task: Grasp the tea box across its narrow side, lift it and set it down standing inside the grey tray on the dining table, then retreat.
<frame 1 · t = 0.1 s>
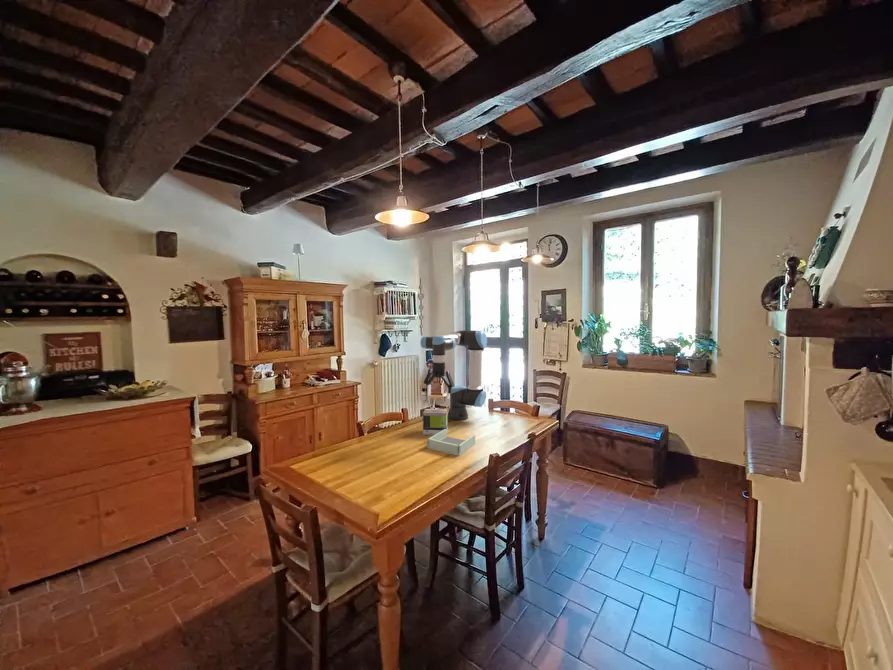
hand: (438, 397, 218), 28 cm above the table, fingers open, 13 cm apart
tea box: (435, 433, 237), on the table
grey tray: (451, 446, 215), on the table
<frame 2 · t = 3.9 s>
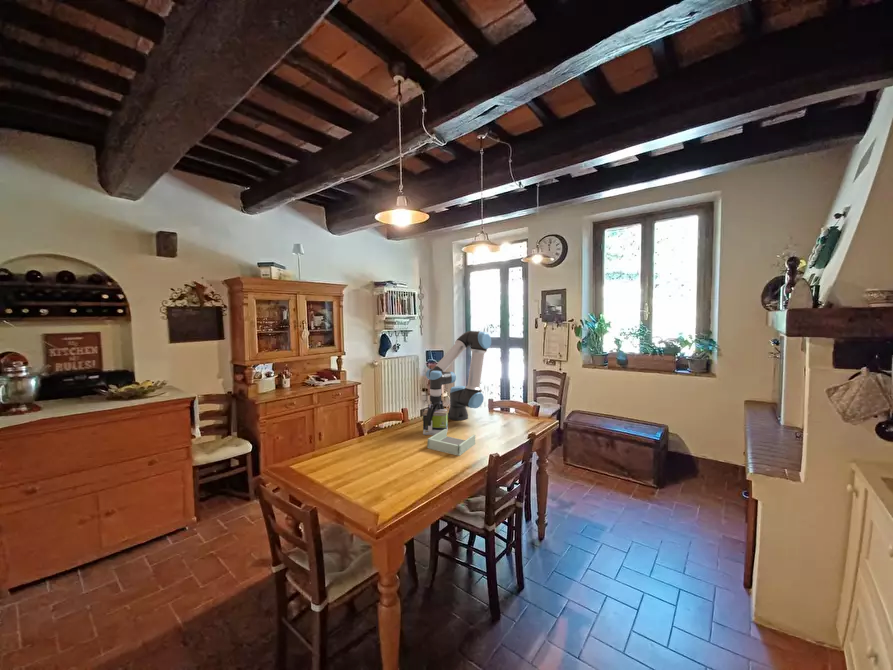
hand: (435, 427, 236), 3 cm above the table, fingers closed on tea box, 12 cm apart
tea box: (435, 433, 237), on the table, touching gripper
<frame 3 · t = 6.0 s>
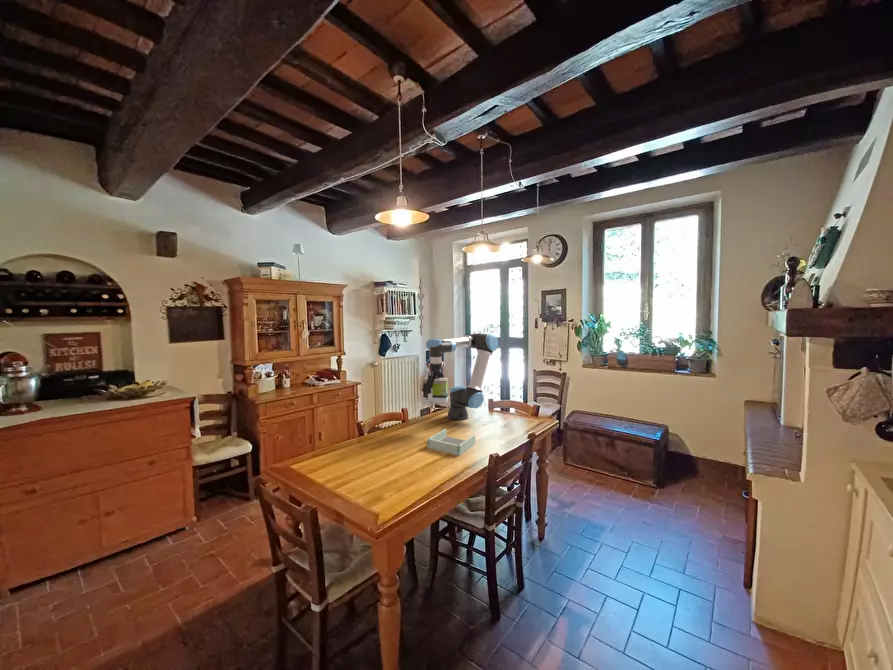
hand: (435, 396, 235), 24 cm above the table, fingers closed on tea box, 12 cm apart
tea box: (435, 401, 235), point 21 cm above the table, touching gripper
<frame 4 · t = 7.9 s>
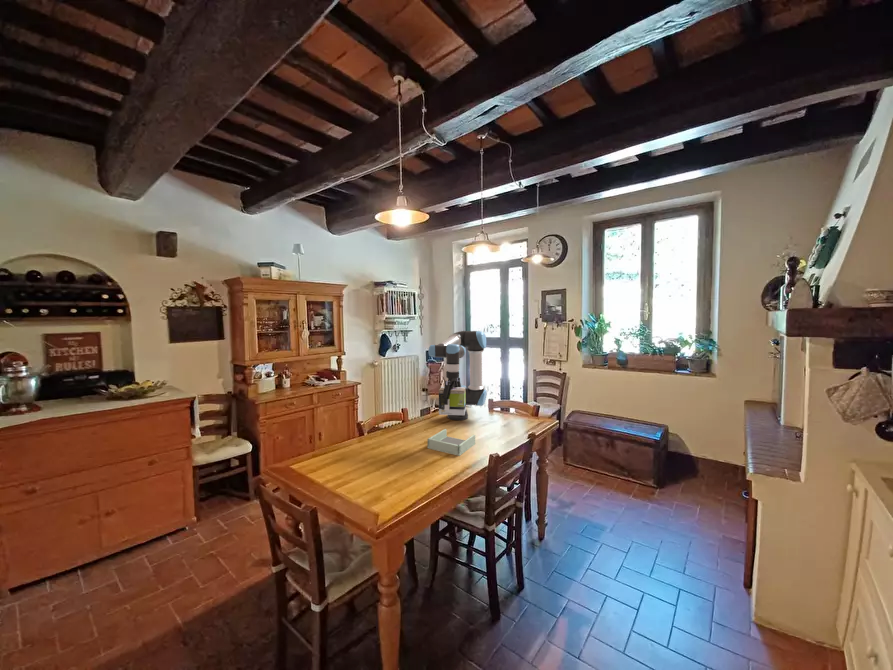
hand: (452, 407, 213), 23 cm above the table, fingers closed on tea box, 12 cm apart
tea box: (452, 413, 213), point 20 cm above the table, touching gripper
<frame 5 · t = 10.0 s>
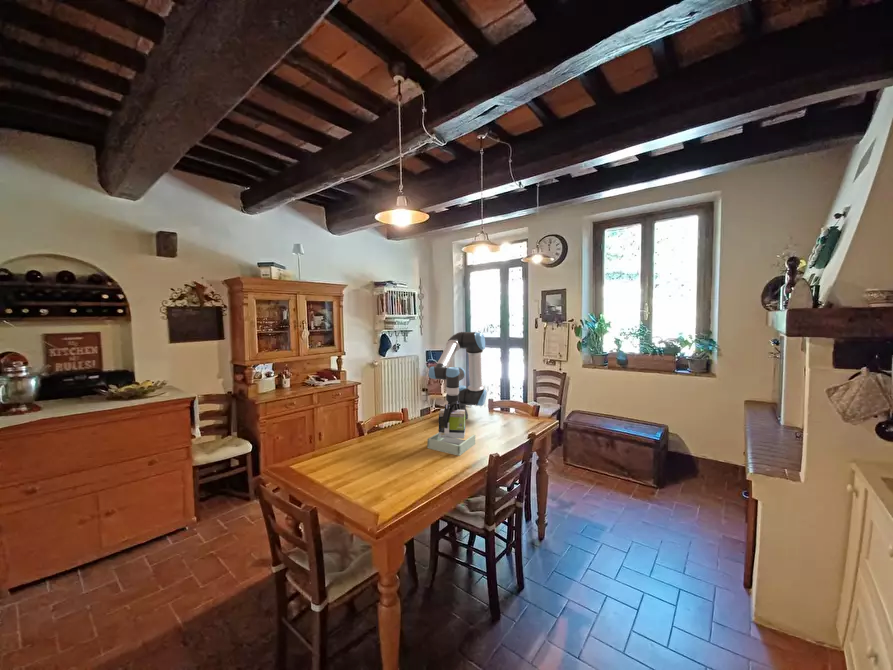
hand: (452, 430, 214), 10 cm above the table, fingers closed on tea box, 12 cm apart
tea box: (452, 436, 214), point 6 cm above the table, touching gripper
when the fingers open (6 cm above the table, at t = 12.0 s): tea box drops 1 cm, resting on grey tray.
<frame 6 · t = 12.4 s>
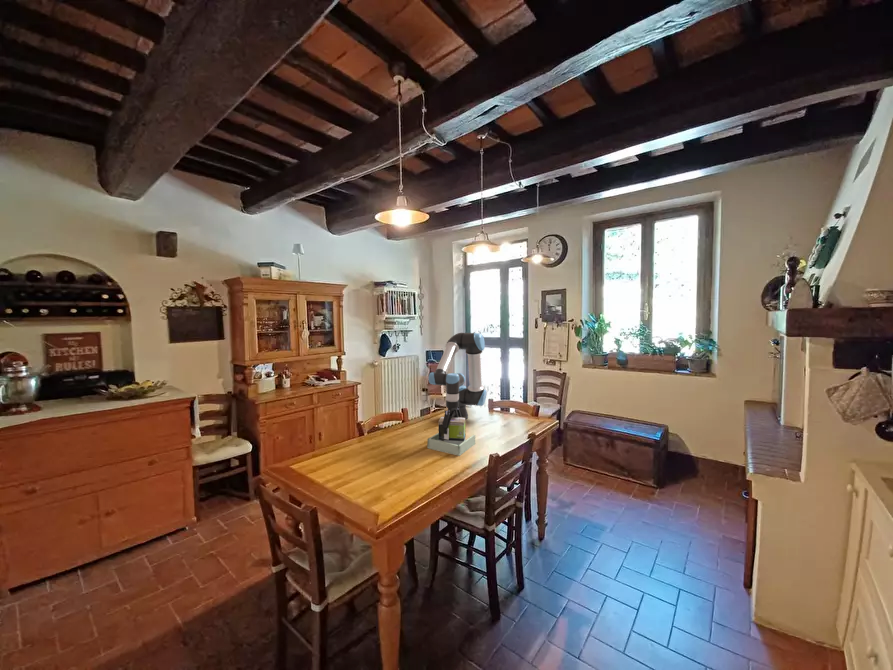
hand: (452, 435, 215), 6 cm above the table, fingers open, 13 cm apart
tea box: (452, 443, 215), point 1 cm above the table, touching grey tray
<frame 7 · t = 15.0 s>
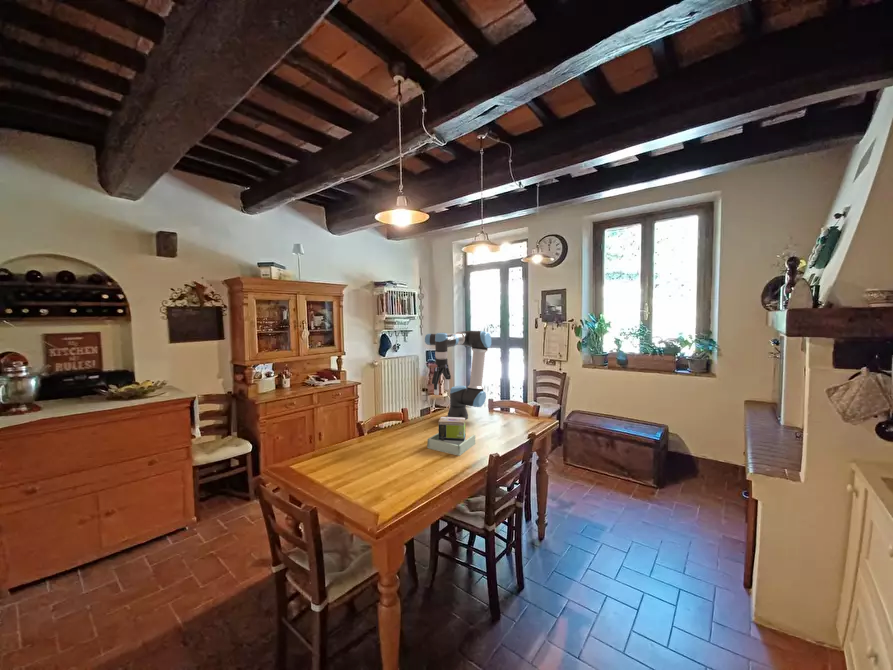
hand: (441, 392, 226), 29 cm above the table, fingers open, 13 cm apart
nothing on the table moved.
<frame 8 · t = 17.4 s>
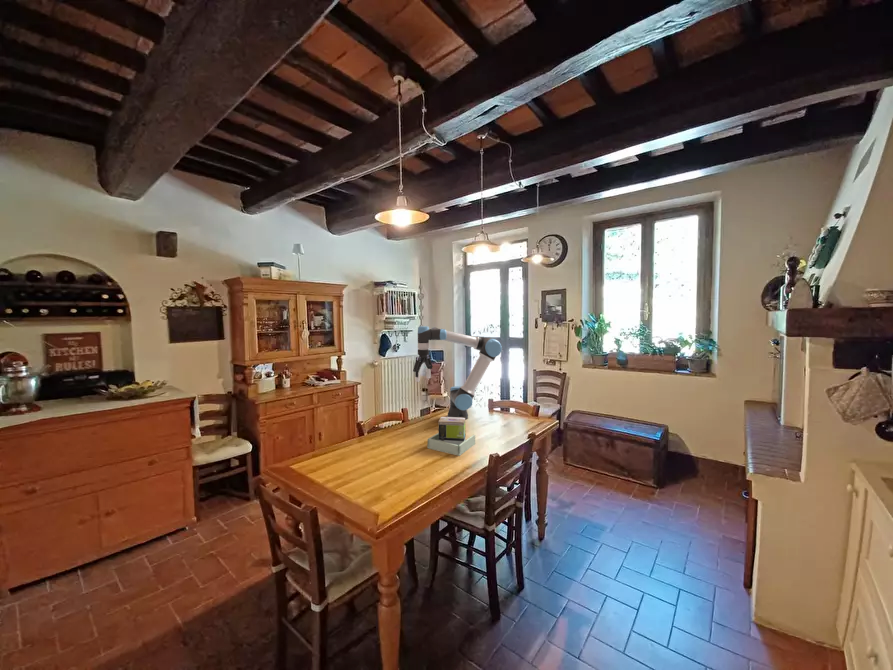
hand: (423, 379, 248), 32 cm above the table, fingers open, 13 cm apart
nothing on the table moved.
at the end: tea box inside the target area on the grey tray (0.2 cm from its centre), point 1.1 cm above the grey tray's base; tea box tilted 0°; the gripper is holding nothing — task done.
